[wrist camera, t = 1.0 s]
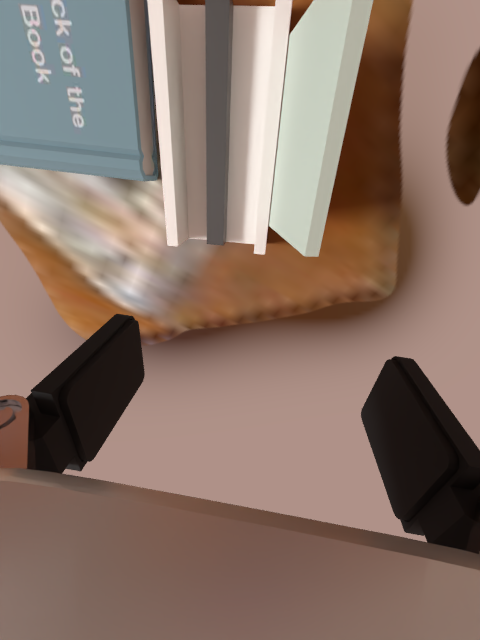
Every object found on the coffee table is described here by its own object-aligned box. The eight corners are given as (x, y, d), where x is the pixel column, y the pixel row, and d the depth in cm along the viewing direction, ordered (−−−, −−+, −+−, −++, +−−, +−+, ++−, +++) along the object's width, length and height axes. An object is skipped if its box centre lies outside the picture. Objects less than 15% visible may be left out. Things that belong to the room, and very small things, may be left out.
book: (148, -27, 23) (118, -72, 18) (159, 180, 31) (141, 181, 27) (-87, -43, 24) (-165, -89, 20) (-16, 159, 32) (-61, 157, 28)
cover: (366, -76, 11) (388, -71, 11) (289, 34, 20) (302, 36, 20) (304, 256, 18) (318, 256, 18) (268, 225, 27) (278, 226, 27)
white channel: (169, 9, 23) (144, -28, 19) (291, 11, 23) (295, -26, 18) (181, 235, 33) (167, 245, 29) (266, 243, 33) (264, 254, 28)
